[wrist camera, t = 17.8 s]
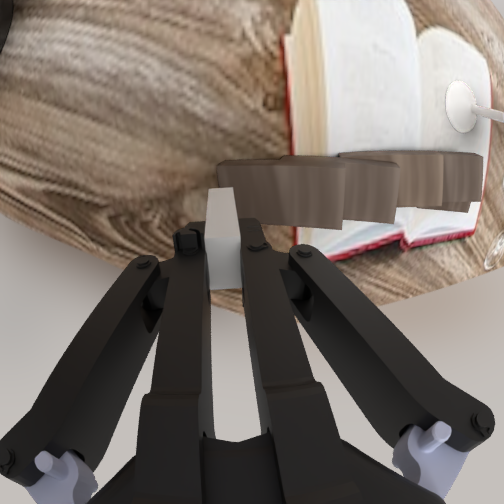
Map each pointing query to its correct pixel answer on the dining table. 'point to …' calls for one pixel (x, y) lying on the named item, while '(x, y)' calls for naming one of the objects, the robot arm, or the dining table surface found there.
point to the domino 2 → (366, 188)
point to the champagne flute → (466, 107)
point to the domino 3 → (412, 175)
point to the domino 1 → (287, 191)
